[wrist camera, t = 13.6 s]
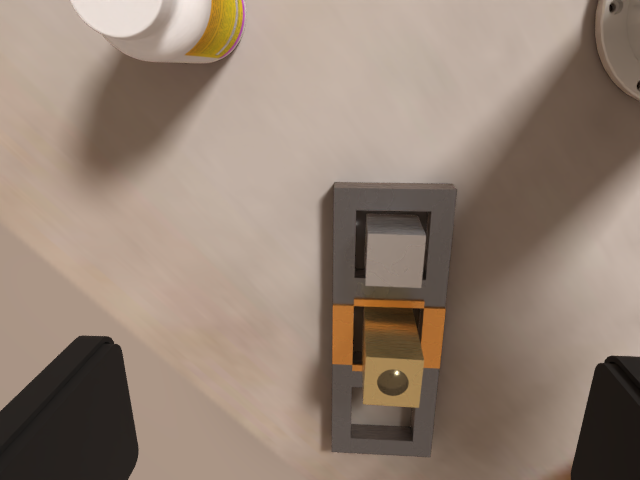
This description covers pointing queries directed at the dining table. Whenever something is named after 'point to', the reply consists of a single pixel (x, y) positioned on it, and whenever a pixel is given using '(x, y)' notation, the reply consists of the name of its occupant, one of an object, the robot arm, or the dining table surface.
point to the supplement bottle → (167, 27)
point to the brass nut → (391, 357)
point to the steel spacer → (394, 250)
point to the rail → (355, 293)
